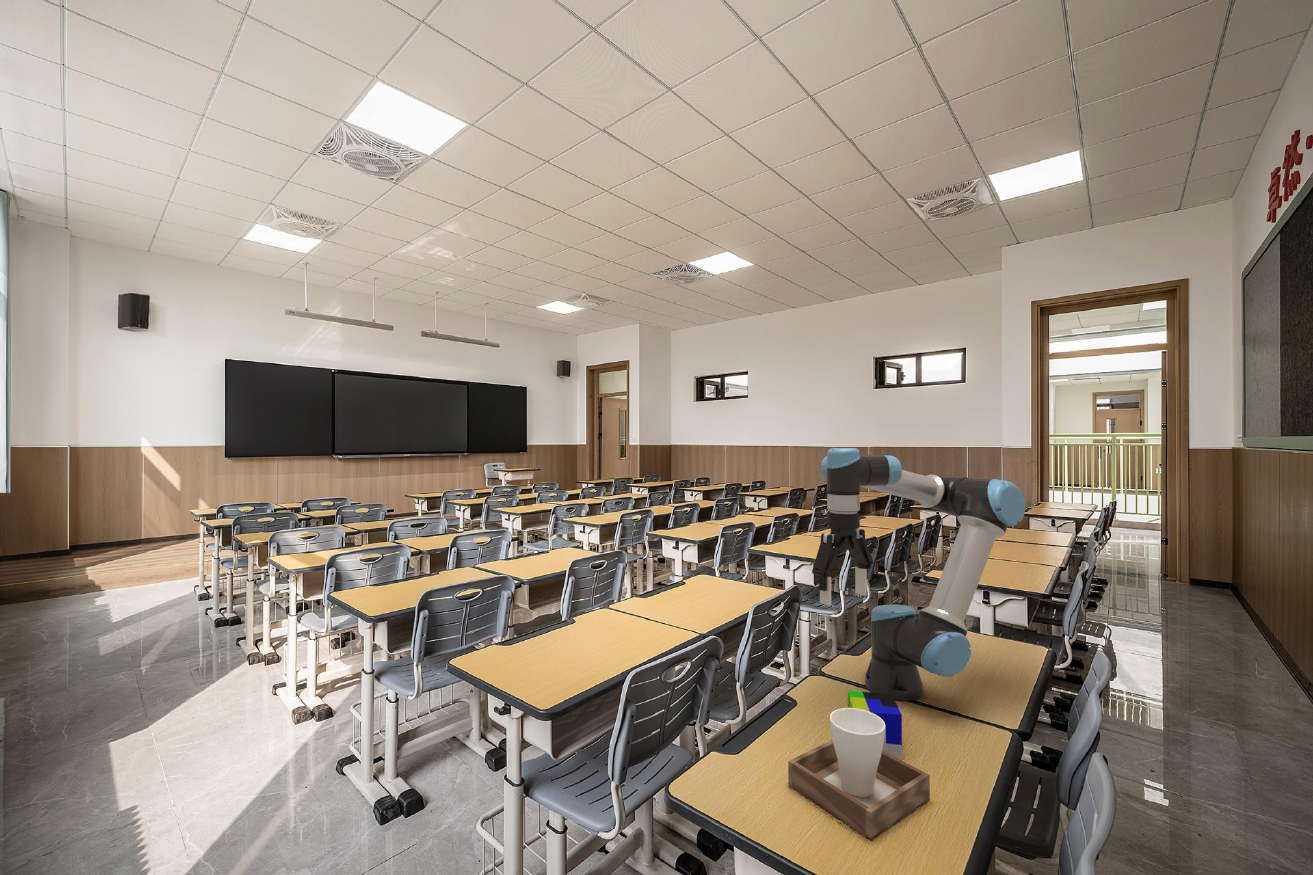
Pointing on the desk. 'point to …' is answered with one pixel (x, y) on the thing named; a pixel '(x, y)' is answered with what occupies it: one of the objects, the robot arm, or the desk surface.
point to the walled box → (869, 816)
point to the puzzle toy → (882, 717)
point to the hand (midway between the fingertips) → (843, 599)
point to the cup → (857, 748)
